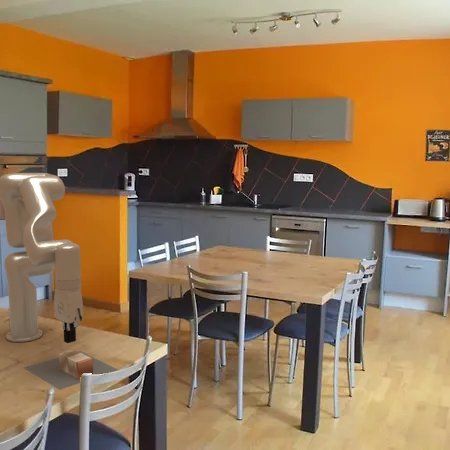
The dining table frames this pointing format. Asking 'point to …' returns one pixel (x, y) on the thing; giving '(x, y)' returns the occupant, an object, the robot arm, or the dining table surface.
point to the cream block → (75, 363)
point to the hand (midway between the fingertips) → (70, 341)
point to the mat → (61, 378)
